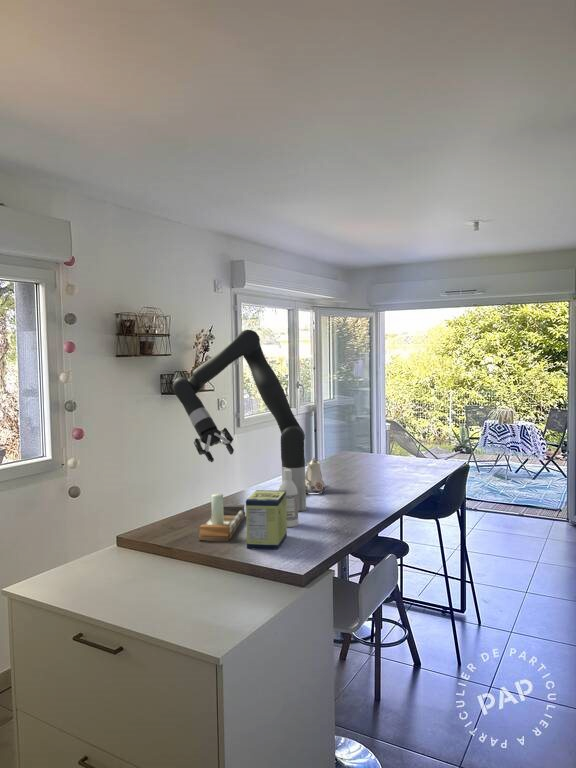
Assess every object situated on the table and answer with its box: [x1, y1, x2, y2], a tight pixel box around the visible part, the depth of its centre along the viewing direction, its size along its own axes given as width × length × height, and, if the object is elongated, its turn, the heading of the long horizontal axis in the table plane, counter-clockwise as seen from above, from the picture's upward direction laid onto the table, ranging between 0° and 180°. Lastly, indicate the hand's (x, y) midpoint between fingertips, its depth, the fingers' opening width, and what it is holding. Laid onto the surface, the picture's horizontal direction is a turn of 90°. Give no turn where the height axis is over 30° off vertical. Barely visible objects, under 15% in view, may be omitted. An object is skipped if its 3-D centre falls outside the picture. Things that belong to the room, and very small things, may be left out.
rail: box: [198, 504, 246, 542], centre depth 210 cm, size 32×10×4 cm, turn 174°
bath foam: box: [278, 469, 299, 528], centre depth 211 cm, size 7×7×20 cm
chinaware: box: [305, 456, 326, 493], centre depth 265 cm, size 28×17×17 cm, turn 154°
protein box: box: [245, 489, 288, 550], centre depth 192 cm, size 10×16×16 cm
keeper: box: [207, 493, 230, 525], centre depth 201 cm, size 6×7×12 cm
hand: (222, 457), depth 219 cm, fingers open, 8 cm apart
